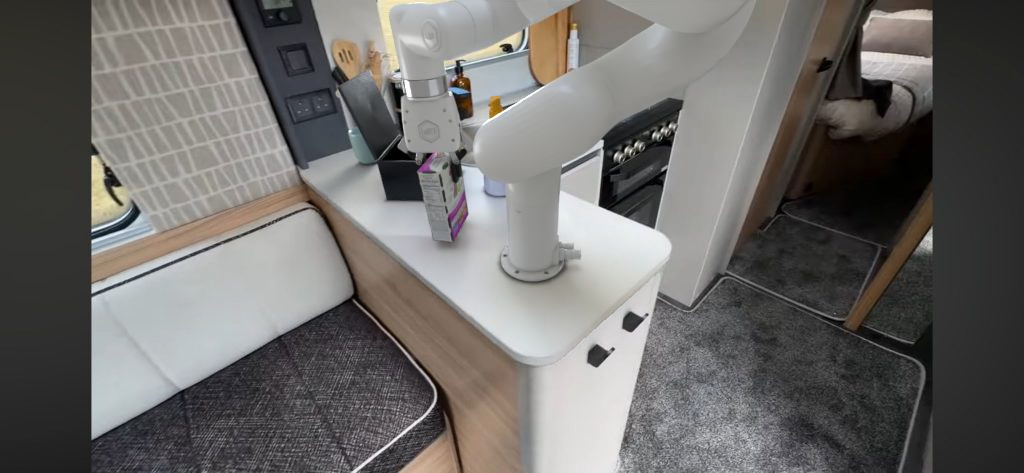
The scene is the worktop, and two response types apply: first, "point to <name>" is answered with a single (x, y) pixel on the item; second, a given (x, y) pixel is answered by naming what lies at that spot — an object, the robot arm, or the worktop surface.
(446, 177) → the candy bar box
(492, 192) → the soap bottle
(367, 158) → the cup
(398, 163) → the bin
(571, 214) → the worktop surface
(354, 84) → the bin lid
